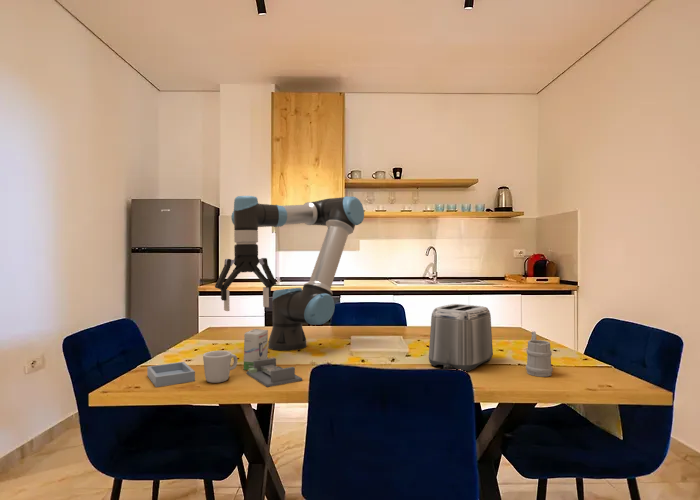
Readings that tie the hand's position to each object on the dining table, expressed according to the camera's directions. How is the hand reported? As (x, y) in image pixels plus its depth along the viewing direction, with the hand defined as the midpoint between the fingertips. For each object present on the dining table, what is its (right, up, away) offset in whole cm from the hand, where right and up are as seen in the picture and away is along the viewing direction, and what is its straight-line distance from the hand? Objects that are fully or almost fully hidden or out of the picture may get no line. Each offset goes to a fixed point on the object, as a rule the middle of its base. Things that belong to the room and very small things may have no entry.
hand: (246, 308), depth 143 cm
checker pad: (+11, -18, -11) cm, 23 cm away
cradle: (+11, -19, -11) cm, 24 cm away
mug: (+92, -19, -6) cm, 95 cm away
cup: (-4, -19, -14) cm, 24 cm away
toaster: (+71, -19, +5) cm, 73 cm away
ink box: (+3, -19, +1) cm, 20 cm away
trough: (-20, -19, -12) cm, 30 cm away
